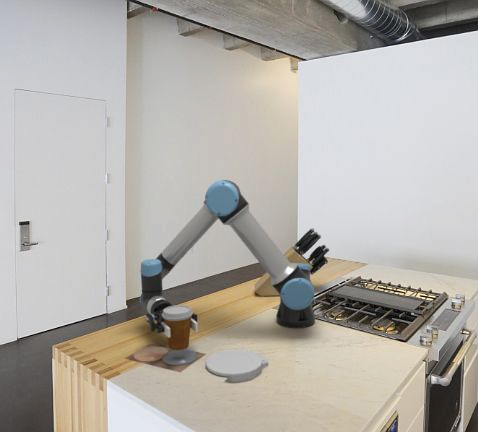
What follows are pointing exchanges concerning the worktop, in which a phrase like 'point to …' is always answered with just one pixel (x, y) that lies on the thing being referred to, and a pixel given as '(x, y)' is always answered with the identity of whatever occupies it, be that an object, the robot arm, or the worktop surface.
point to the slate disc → (179, 357)
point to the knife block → (296, 261)
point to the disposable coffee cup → (178, 325)
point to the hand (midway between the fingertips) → (183, 330)
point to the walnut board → (161, 363)
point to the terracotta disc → (150, 354)
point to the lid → (236, 364)
